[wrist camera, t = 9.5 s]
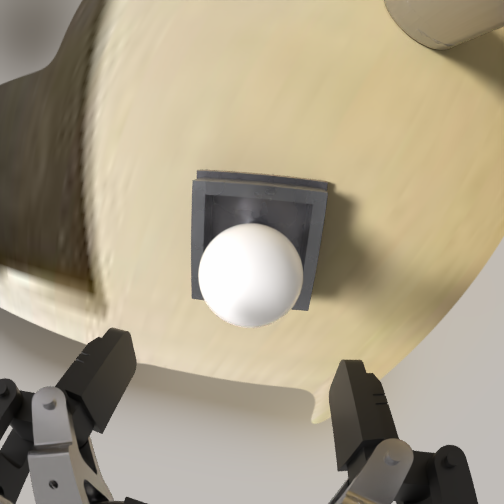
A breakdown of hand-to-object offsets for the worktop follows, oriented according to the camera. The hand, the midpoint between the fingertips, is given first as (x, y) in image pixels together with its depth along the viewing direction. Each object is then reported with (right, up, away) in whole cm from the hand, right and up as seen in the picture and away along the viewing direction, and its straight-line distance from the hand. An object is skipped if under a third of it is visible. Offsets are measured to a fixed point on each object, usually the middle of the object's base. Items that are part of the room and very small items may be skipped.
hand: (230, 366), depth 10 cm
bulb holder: (+1, +6, +16) cm, 17 cm away
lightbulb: (+1, +6, +15) cm, 16 cm away
